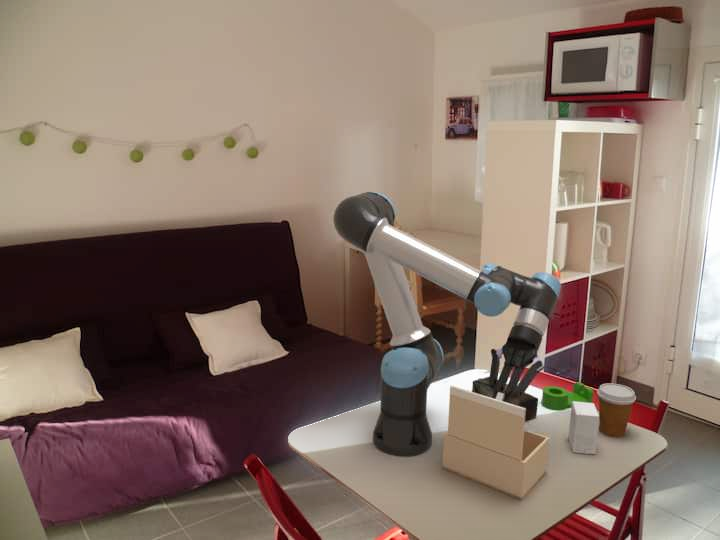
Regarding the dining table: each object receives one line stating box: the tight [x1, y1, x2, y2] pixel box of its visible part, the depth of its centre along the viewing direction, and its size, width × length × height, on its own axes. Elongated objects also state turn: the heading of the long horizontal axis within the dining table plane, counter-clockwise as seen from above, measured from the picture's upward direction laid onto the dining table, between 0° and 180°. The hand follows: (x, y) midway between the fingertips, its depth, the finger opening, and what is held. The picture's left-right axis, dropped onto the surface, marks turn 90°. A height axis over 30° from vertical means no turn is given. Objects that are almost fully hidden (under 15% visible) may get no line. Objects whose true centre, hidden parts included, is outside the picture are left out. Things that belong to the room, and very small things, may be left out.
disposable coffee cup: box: [596, 382, 637, 438], centre depth 161 cm, size 10×10×12 cm
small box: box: [568, 401, 600, 455], centre depth 153 cm, size 8×6×10 cm
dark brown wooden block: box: [471, 376, 539, 422], centre depth 174 cm, size 8×19×7 cm, turn 32°
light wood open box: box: [441, 429, 550, 501], centre depth 142 cm, size 20×14×9 cm
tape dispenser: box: [541, 381, 594, 412], centre depth 178 cm, size 15×7×5 cm, turn 114°
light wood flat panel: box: [447, 385, 526, 461], centre depth 134 cm, size 18×1×12 cm, turn 52°
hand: (492, 420), depth 136 cm, fingers closed
